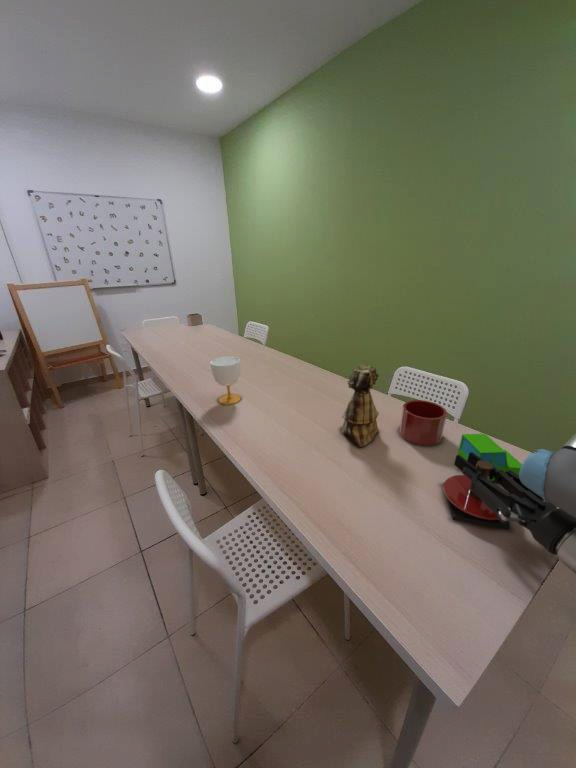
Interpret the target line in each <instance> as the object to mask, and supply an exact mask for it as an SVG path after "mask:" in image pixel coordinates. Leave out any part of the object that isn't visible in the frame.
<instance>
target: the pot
mask: <svg viewBox="0 0 576 768" xmlns="http://www.w3.org/2000/svg"><path fill="white" fill-rule="evenodd" d="M447 416H448V412H447V409H446V408H444V407H443V406H442V405H441V404H438V403H436V402H432V401H429V400H420V399H415V400H414V399H413V400H408V401H406V402H405V403H403V405H402V410H401V416H400V424H399V434H400V436H401V437H402V438H403V439H404V440H405V441H406V442H408V443H411V444H413V445H416V446H423V447H433V446H437V445H438V444H440V443H441V442H442V439H443V436H444V430H445V425H446V422H447V421H446V420H447Z"/></svg>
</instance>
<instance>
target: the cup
mask: <svg viewBox="0 0 576 768" xmlns="http://www.w3.org/2000/svg"><path fill="white" fill-rule="evenodd" d="M209 363H210V368H211V372H212V376H213V379H214V381H215V382H216V384H218V385H220V386H223V387H226V390H227V394H225V395H223V396H220V397H219V398H218V402H219V403H220V404H222V405H234V404H236V403H238V402H239V401H241V396H240V395H238V394H232V393H231V386H233V385H235V384H237V382H238V381H239V379H240V377H241V359H240V358H239V357H236V356H220V357H216V358H214V359H212V360H210V362H209Z"/></svg>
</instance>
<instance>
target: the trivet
mask: <svg viewBox="0 0 576 768" xmlns="http://www.w3.org/2000/svg"><path fill="white" fill-rule="evenodd" d="M444 483H445V482H443V483H442V487H443V486H444ZM445 498H446V501H447V504H448V505H447V506H448V508H449V512H450V515H451V519H452V520H453V521H460V522H465V523H469V524H470V523H472V524H477V525H483V526H489V527H494V528H500V529H505V530H510V527H511V525H510V523H509V522H510V521H508V523H507V524H503V523H501V522H500V520H499V519H498V520H487V519H482V518H478V517H475V516H472V515H470V514H467V513H465V512H464V511H462V510H460V509H459V508H457V507H456V506H455V505H453V504H452V503H451V502H450V501H449V500H448V498H447V497H446V496H445Z"/></svg>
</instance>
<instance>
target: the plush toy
mask: <svg viewBox="0 0 576 768" xmlns="http://www.w3.org/2000/svg"><path fill="white" fill-rule="evenodd" d="M378 377H380V375H379V374H378V373H377V369H376V367H373V366H370V365H368V364H361V365H360V364H359V365H357V366H356V367H355V368H354V369H353V370H352V371H351V373H350V374H349V375H348V376H347V378H348V380H347V381H346V382H347V385H348V387H347V388H349V389H352V390H354V392H353V394H352V395H351V397H350V400H349V402H348V404H347V406H346V408H345V410H344V412H343V414H342V416H341V418H342V419H343V423H342V427H341V428H340V429H341V433H342V434H343V435H345V436H346V437H348V438H349V439H350V440H351V441H352V442H353V443H354V445H355V446H356V447H360V448H362V447H366V445H368V444H369V443H371V442H372V441H373V440H374V439H373V438H374V436H375V435H376V434H377V433H378V431H379V427H378V422H377V419H378V417H379V415H380V412H378V410H377V408H376V405H375V402H374V398H373V396H372V393H371V390H372V389H373V386H374V385H376V382H377V381H378V379H379V378H378Z"/></svg>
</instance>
